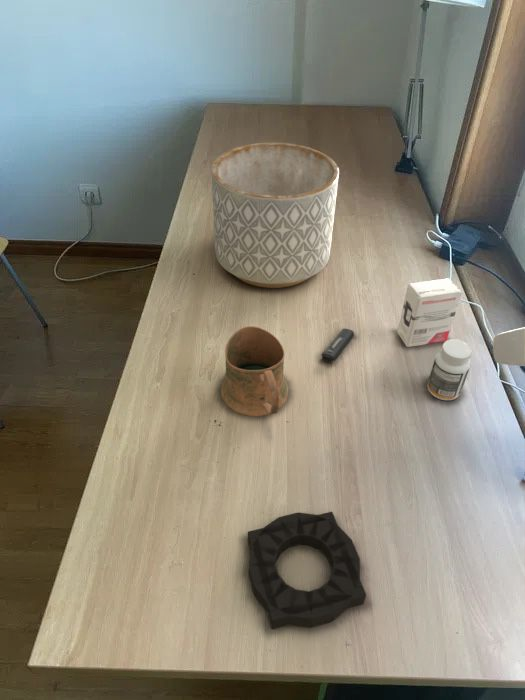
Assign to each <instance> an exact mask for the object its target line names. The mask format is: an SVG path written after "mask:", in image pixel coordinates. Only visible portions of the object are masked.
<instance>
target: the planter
mask: <svg viewBox="0 0 525 700" xmlns="http://www.w3.org/2000/svg"><path fill="white" fill-rule="evenodd" d="M339 175H340V169H339V166H338V164H337V163H336V161H334V160H333V159H332V158H331V157H330V156H328V155H327V154H325V153H324V152H321V151H319V150H318V149H314V148H312V147H309V146H306V145H305V146H304V145H301V144H295V143H288V142H258V143H250V144H245V145H241V146H238V147H237V146H236V147H234V148H231V149H229V150H226V151H225V152H223V153H222V154H220V155H219V156H217V158H216V159H214V161H213V163H212V165H211V186H212V187H211V189H212V208H213V209H212V211H213V229H214V232H213V233H214V248H215V249H214V250H215V257H216V260H217V261H218V263H219V264H220V265H221V267H222V268H223V269H224V270H226V271H227V272H229V273H230V274H231V275H233V276H234V277H236V278H237V279H238V280H240V281H242V282H244V283H247V284H249V285H251V286H255V287H259V288H260V287H261V288H268V289H279V288H287V287H292V286H295V285H298V284H301V283H303V282H306V281H307V280H309V279H310V278H311V277H313V276H315V275H317V274H318V273H319V272H321V271H322V270H323V269H325V267H326V266H327V264H328V262H329V260H330V257H331V249H332V239H333V230H334V221H335V212H336V202H337V193H338V185H339Z"/></svg>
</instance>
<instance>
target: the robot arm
mask: <svg viewBox="0 0 525 700" xmlns="http://www.w3.org/2000/svg"><path fill="white" fill-rule="evenodd" d="M492 339H493V340H492V353H493V359H494V361H495V362H496V363H497V364H500V365H506V366H516V367H525V326H524V327H520V328H515V329H511V330H508V331H504V332H500V333H498V334H496V335H495V336H494V337H493V338H492Z"/></svg>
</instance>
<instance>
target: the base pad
mask: <svg viewBox="0 0 525 700" xmlns="http://www.w3.org/2000/svg"><path fill="white" fill-rule="evenodd" d="M247 542H248V546H249V550H250V554H249V560H248V577H249V581H250V585H251V588H252V592H253V595H254V597H255V598H256V599H257V600H258V602H259V603H260V605H261V606H262V607H263V609H264V610H265V611H266V612H267V613H266V614H267V616H268V621H269V624H270V627H271V628H270V629H271V630H275V629H278V628H282V627H284V626H285V627H286V626H288V625H289V626H290V625H291V626H296V627H297V626H298V627H303V628H314V627H318V626H321V625H324V624H328V623H331V622H333V621H335V620H336V619H337V618H338V617H339V616H340V615H342V614H343V613H344V612H345V611H346V610H348V609H350V608H353V607H357V606H361V605H364V603H365V601H366V597H367V593H366V591H365V589H364V586H363V583H362V581H361V559H360V555H359V554H358V551H357V549H356V547H355V544H354V541H353V540H352V538H351V537H350V536H349V535H348V534H347V533H346V532H345V531H344V530H343V529H342V528H341V527H340V526H339V524H338V522H337V519H336V517H335V515H334V513H333V511H328V512H324V513H320V514H316V513H315V514H313V513H307V512H294V513H289V514H285V515H281V516H278V517H277V518H275V519H273V520H272V521H271V522H269V523H268V524H266V525H265V526H264V527H262V528H256V529H252V530H249V531H247ZM299 545H303V546H309V547H310V546H311V547H313V548H315V549H316V550H318V551H320V552H321V553H322V554H323V555H324V556H325V557H326V559H327V560H328V562H329V565H330V568H331V575H330V577H329V579H328V580H327V582H326V583H324V584H323V585H321V587H319V588H316V589H312V590H302V589H296V588H294V587H292V586H291V585H289V584H287V583H286V582H285V581H284V579H283V578H282V577H281V576H280V575H279V571H278V568H277V565H276V564H277V561H278V560H279V557H280V556H281V554H282V553H284V551H286V550H287V549H289V548H290V547H294V546H299Z"/></svg>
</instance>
